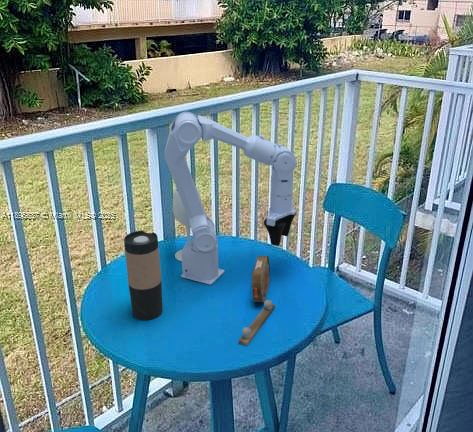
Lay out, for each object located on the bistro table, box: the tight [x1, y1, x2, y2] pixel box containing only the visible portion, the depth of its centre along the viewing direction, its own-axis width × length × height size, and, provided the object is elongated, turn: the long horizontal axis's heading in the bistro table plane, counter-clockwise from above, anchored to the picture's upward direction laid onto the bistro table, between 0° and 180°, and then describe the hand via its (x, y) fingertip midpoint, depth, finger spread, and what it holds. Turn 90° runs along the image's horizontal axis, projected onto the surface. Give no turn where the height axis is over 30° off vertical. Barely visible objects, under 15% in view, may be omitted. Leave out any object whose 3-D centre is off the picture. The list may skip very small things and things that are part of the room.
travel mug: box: [123, 230, 163, 321], centre depth 111 cm, size 8×8×20 cm
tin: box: [251, 255, 271, 303], centre depth 121 cm, size 15×3×8 cm, turn 169°
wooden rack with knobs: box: [238, 299, 276, 347], centre depth 110 cm, size 2×16×3 cm, turn 154°
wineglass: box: [172, 186, 202, 262], centre depth 137 cm, size 9×9×21 cm
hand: (279, 239), depth 130 cm, fingers open, 6 cm apart
